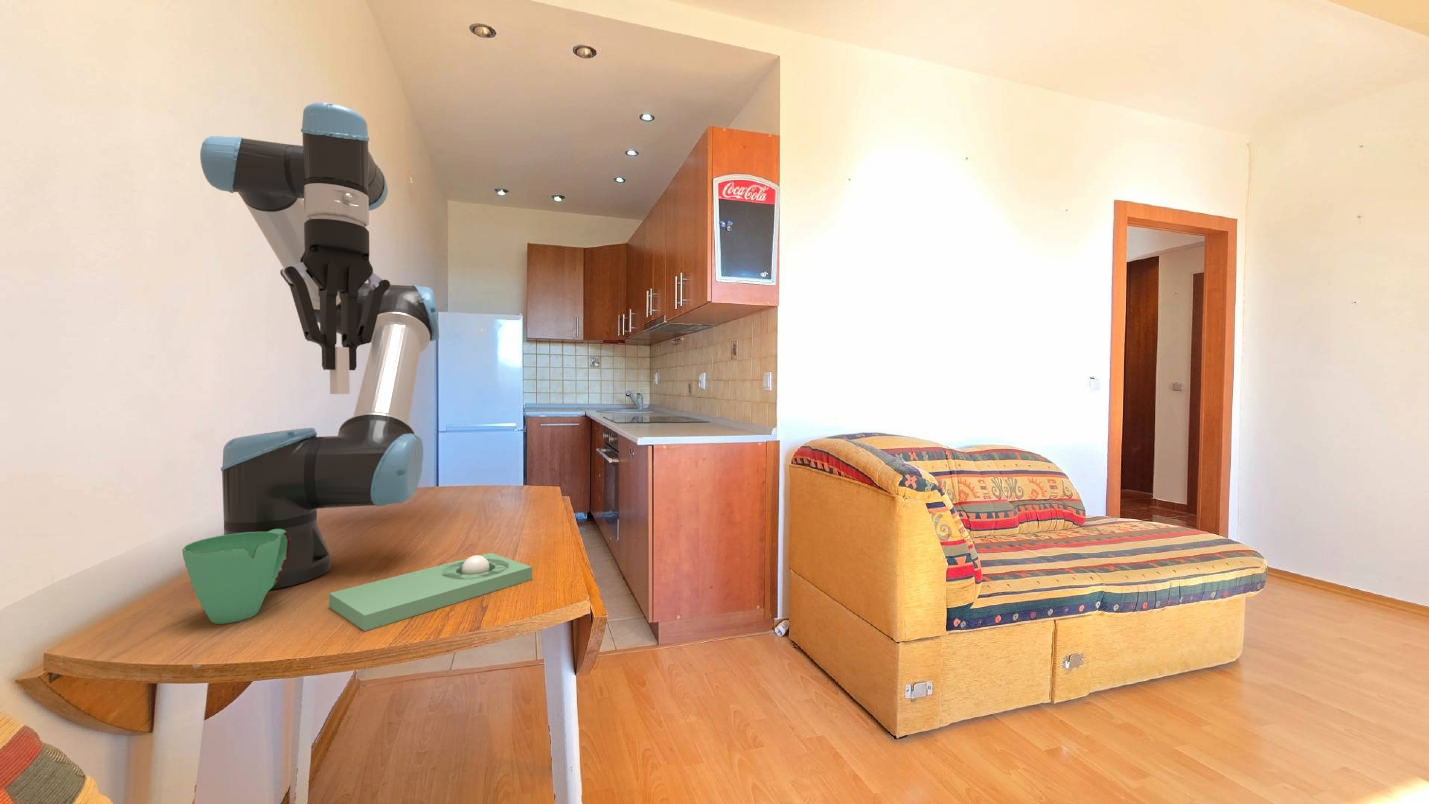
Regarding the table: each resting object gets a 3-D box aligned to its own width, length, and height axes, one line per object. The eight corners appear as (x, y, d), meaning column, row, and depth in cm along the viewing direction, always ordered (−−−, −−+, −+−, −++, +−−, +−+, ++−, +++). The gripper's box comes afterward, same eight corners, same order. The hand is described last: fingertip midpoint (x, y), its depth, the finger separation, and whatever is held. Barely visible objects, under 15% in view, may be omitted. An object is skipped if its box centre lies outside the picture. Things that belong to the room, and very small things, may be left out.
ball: (456, 582, 88) (458, 555, 88) (481, 578, 91) (482, 553, 91) (468, 584, 85) (469, 557, 86) (493, 581, 88) (494, 555, 88)
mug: (248, 631, 70) (246, 551, 70) (162, 633, 69) (160, 553, 69) (318, 588, 85) (317, 522, 84) (248, 590, 84) (247, 523, 83)
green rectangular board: (364, 631, 70) (364, 615, 70) (329, 607, 77) (328, 593, 77) (532, 579, 89) (531, 566, 89) (490, 564, 96) (490, 552, 96)
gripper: (289, 207, 71) (292, 395, 71) (399, 230, 81) (400, 394, 82) (271, 217, 75) (274, 394, 76) (377, 238, 85) (378, 393, 86)
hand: (339, 393), depth 79 cm, fingers closed
